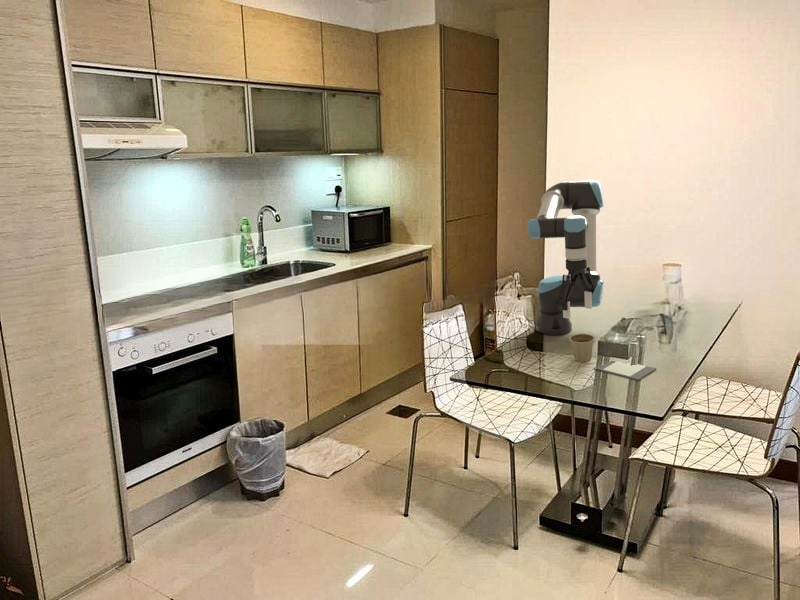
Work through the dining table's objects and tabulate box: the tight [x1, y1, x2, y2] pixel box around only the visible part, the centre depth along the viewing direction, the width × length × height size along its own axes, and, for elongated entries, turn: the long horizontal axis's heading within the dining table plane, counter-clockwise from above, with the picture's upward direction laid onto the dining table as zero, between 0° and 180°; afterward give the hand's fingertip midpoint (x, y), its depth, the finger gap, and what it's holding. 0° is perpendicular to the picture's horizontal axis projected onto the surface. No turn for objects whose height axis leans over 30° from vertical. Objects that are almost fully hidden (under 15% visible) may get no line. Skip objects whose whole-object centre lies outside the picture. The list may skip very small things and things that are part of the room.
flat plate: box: [593, 361, 657, 381], centre depth 242 cm, size 12×18×1 cm, turn 40°
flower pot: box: [568, 333, 596, 363], centre depth 254 cm, size 9×9×9 cm
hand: (577, 313), depth 250 cm, fingers open, 13 cm apart
